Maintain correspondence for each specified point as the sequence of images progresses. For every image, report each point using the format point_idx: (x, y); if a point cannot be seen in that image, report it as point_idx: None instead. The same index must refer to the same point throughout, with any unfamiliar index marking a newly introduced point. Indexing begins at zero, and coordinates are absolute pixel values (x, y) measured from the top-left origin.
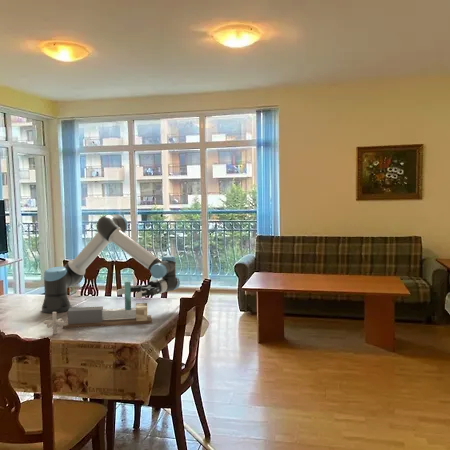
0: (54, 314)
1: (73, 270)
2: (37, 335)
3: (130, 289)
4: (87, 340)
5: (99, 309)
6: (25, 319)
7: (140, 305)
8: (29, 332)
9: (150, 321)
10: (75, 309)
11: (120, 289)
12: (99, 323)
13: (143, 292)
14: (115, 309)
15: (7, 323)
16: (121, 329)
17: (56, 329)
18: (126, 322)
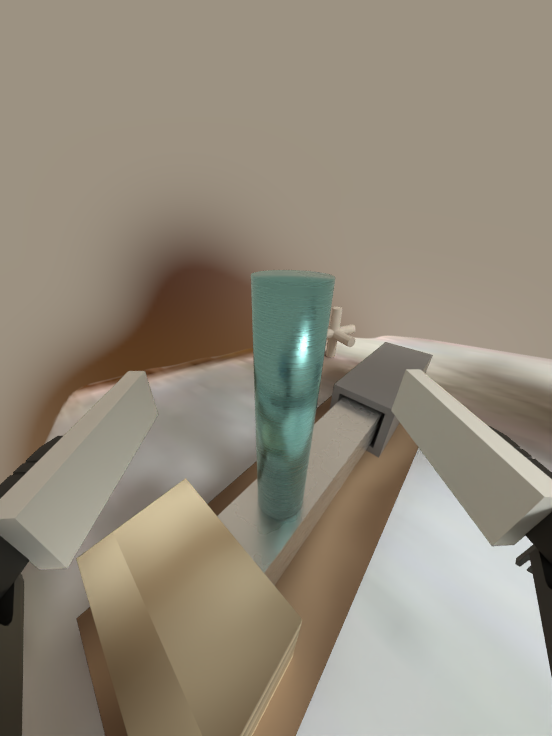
0: (332, 311)
1: None
2: (341, 343)
3: (257, 371)
4: (229, 361)
5: (340, 381)
6: (510, 368)
7: (187, 566)
8: (372, 344)
9: (87, 611)
10: (396, 353)
11: (423, 387)
12: (317, 416)
13: (60, 456)
14: (331, 443)
15: (475, 348)
16: (211, 437)
17: (327, 347)
18: (236, 480)
